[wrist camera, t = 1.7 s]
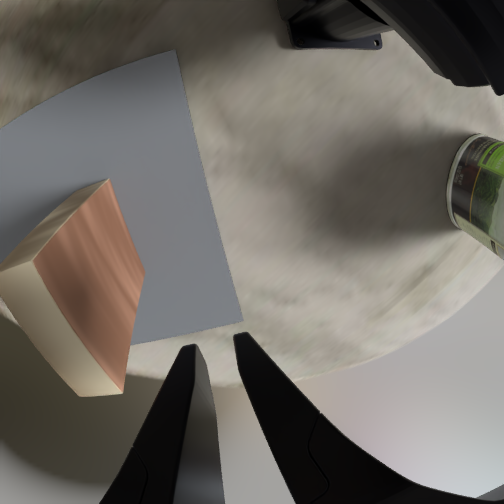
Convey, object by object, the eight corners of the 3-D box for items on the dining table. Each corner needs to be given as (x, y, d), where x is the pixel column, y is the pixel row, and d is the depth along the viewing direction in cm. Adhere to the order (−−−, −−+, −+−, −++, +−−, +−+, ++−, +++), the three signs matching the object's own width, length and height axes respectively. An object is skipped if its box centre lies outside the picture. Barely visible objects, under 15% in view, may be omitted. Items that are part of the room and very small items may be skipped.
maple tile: (110, 178, 16) (32, 260, 7) (145, 272, 19) (123, 393, 11) (76, 190, 15) (-11, 276, 7) (114, 280, 19) (79, 396, 10)
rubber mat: (175, 50, 13) (175, 49, 13) (242, 317, 23) (243, 320, 23) (-47, 167, 12) (-50, 169, 11) (49, 354, 22) (48, 357, 22)
